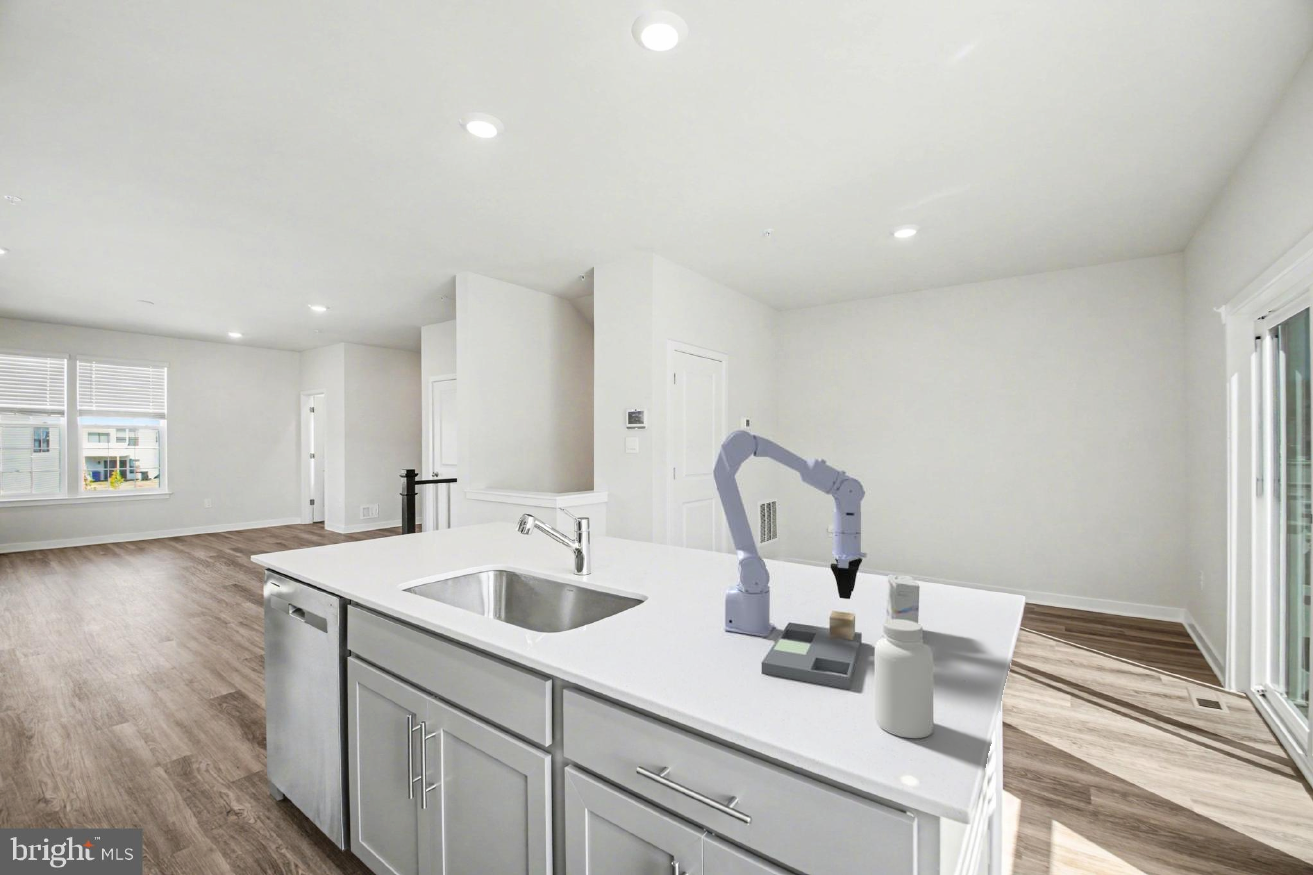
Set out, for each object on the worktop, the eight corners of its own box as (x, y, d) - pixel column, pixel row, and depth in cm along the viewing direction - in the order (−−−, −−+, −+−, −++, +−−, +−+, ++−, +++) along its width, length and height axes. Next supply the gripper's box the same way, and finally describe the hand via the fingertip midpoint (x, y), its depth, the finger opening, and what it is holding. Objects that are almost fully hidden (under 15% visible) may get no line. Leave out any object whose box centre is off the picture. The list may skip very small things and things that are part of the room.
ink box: (885, 625, 127) (885, 573, 127) (910, 627, 126) (910, 574, 126) (893, 638, 118) (894, 583, 118) (919, 640, 117) (920, 584, 117)
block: (829, 636, 114) (829, 616, 114) (832, 629, 118) (832, 610, 118) (852, 640, 112) (852, 620, 112) (854, 632, 116) (855, 613, 116)
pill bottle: (864, 713, 86) (865, 616, 86) (914, 711, 87) (915, 615, 87) (890, 741, 78) (891, 634, 78) (945, 739, 79) (945, 633, 79)
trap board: (761, 673, 101) (761, 662, 101) (788, 631, 123) (788, 622, 123) (849, 689, 94) (849, 677, 94) (861, 642, 116) (861, 632, 116)
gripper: (863, 538, 113) (863, 605, 114) (869, 528, 127) (868, 588, 127) (827, 536, 116) (827, 601, 116) (836, 526, 130) (836, 584, 130)
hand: (846, 594), depth 122 cm, fingers open, 6 cm apart
